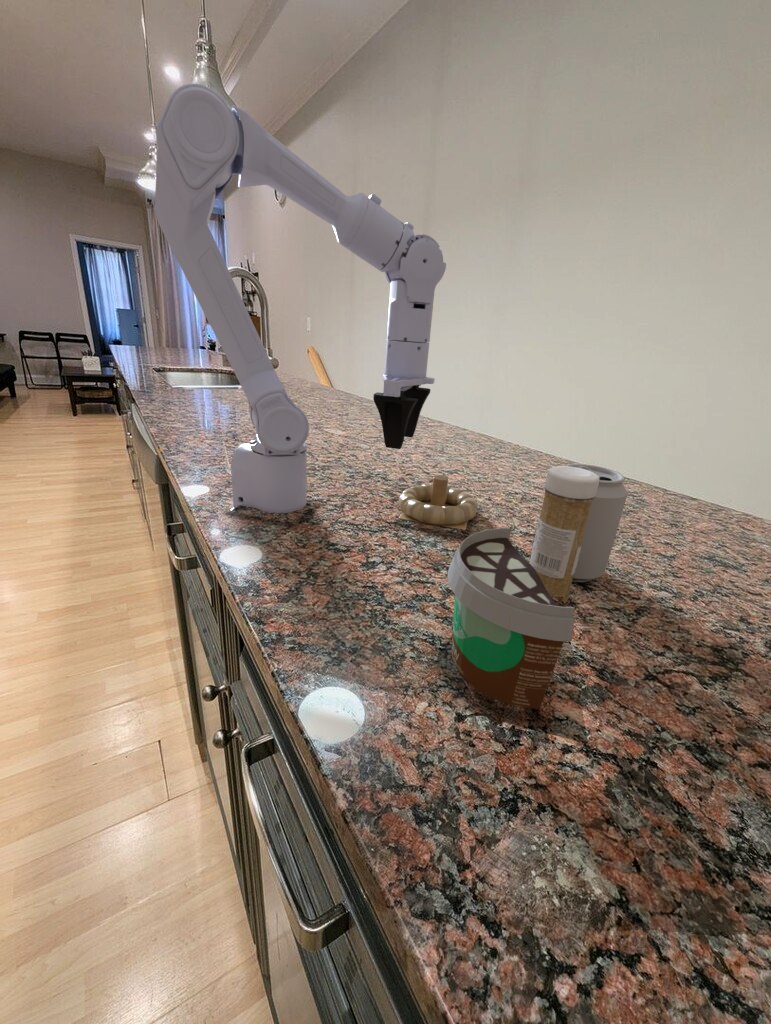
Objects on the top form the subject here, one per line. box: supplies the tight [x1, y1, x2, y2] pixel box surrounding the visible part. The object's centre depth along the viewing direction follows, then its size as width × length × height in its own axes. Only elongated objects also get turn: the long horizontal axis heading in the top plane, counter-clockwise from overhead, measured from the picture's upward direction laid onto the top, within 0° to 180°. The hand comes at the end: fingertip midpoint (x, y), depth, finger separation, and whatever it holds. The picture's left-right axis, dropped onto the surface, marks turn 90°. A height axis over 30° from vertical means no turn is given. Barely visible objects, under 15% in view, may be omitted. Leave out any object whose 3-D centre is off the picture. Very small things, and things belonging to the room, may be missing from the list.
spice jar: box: [529, 465, 599, 605], centre depth 44 cm, size 5×5×13 cm
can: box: [564, 463, 629, 583], centre depth 50 cm, size 8×8×12 cm
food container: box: [446, 527, 576, 710], centre depth 33 cm, size 12×6×10 cm, turn 5°
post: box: [398, 475, 469, 531], centre depth 62 cm, size 9×9×6 cm
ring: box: [397, 484, 479, 526], centre depth 62 cm, size 11×11×2 cm
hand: (399, 441), depth 64 cm, fingers open, 7 cm apart
